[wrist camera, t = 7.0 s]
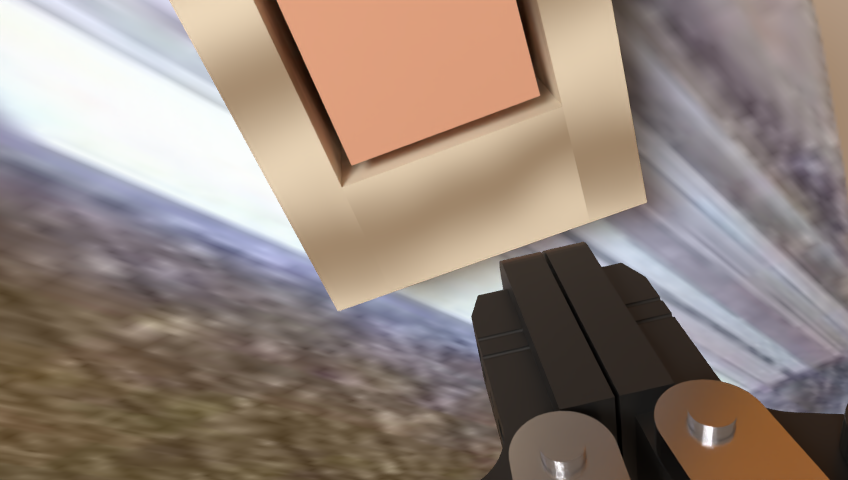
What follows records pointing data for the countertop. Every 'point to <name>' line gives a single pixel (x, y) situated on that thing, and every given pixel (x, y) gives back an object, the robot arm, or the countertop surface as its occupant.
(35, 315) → the countertop surface
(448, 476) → the countertop surface
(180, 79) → the countertop surface
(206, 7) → the button housing
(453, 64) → the button
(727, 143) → the countertop surface
